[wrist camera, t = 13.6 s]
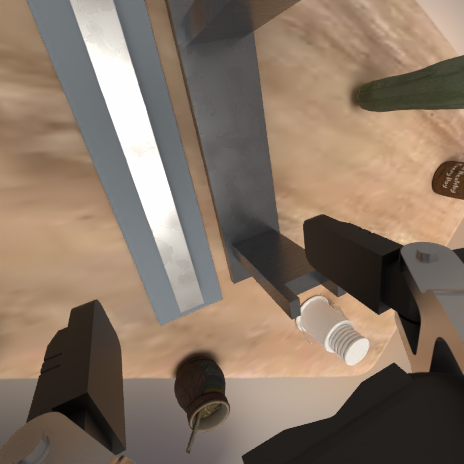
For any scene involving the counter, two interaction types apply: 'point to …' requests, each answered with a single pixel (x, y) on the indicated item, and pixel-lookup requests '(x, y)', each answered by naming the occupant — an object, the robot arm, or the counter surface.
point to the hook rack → (239, 142)
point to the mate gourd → (202, 395)
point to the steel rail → (137, 141)
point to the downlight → (332, 330)
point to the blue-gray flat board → (110, 150)
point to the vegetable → (417, 89)
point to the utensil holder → (450, 180)
